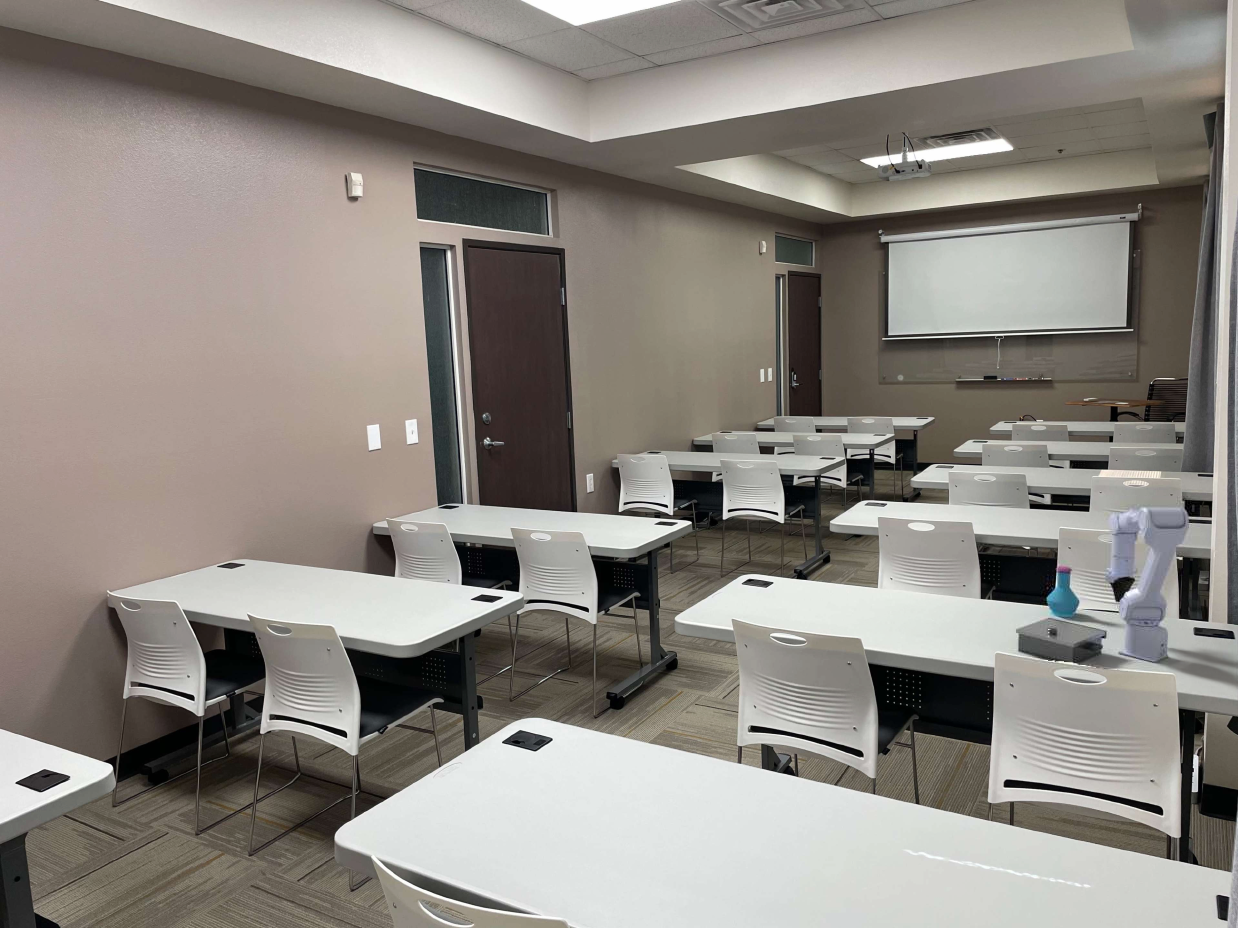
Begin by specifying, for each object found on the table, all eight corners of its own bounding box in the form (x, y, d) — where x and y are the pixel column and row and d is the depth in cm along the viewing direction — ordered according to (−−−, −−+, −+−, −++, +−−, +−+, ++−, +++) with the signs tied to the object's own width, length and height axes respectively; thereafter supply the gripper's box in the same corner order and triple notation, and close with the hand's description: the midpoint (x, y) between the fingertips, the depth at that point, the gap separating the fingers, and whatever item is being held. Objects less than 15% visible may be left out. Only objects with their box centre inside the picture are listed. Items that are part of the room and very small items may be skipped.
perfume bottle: (1071, 609, 275) (1073, 564, 273) (1084, 618, 265) (1085, 571, 264) (1041, 609, 275) (1042, 564, 274) (1053, 618, 266) (1054, 571, 265)
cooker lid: (1106, 637, 234) (1106, 626, 234) (1073, 651, 225) (1073, 639, 224) (1049, 624, 247) (1049, 613, 247) (1015, 636, 238) (1016, 624, 237)
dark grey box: (1112, 656, 232) (1113, 638, 231) (1083, 669, 223) (1084, 650, 223) (1037, 637, 249) (1037, 620, 248) (1008, 648, 240) (1008, 631, 240)
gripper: (1120, 549, 252) (1118, 594, 253) (1095, 557, 243) (1093, 603, 245) (1146, 553, 246) (1143, 599, 248) (1121, 562, 238) (1118, 609, 240)
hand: (1120, 601), depth 246 cm, fingers closed
